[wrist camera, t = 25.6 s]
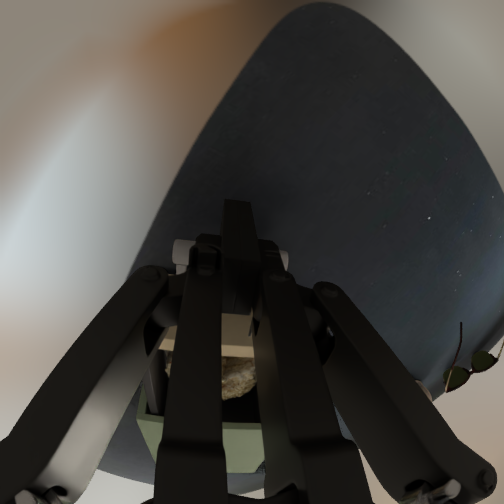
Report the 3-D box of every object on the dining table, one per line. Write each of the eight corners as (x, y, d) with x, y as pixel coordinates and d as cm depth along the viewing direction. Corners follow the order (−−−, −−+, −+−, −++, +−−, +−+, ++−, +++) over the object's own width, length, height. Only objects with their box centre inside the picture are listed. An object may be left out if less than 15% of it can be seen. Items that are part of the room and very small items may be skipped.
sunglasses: (434, 376, 40) (446, 395, 35) (449, 320, 33) (466, 340, 29) (487, 346, 39) (499, 361, 34) (506, 288, 32) (522, 304, 28)
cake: (242, 381, 31) (242, 422, 26) (158, 362, 29) (150, 404, 24) (279, 333, 26) (284, 382, 21) (173, 306, 23) (162, 357, 19)
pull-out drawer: (144, 207, 20) (110, 258, 14) (316, 228, 22) (348, 282, 16) (157, 383, 31) (150, 433, 25) (261, 391, 33) (267, 440, 27)
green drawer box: (149, 350, 29) (135, 418, 21) (275, 361, 31) (286, 428, 24) (162, 418, 38) (157, 466, 31) (250, 425, 40) (254, 472, 33)
